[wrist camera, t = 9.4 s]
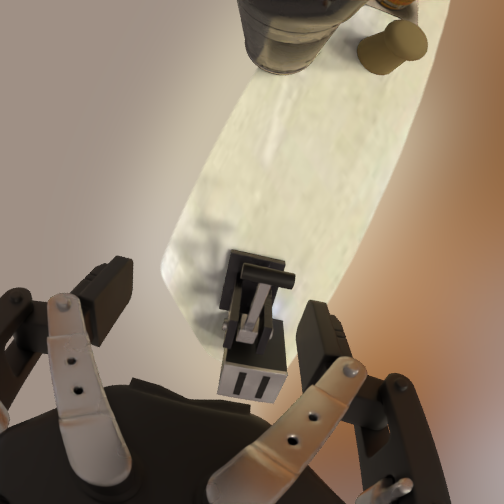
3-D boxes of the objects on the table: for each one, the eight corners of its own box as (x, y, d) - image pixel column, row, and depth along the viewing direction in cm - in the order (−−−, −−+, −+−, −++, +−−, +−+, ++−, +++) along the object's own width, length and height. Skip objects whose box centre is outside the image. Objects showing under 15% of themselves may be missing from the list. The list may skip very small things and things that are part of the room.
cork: (348, 53, 30) (377, 30, 20) (372, 29, 28) (405, 4, 18) (380, 83, 32) (419, 71, 22) (403, 59, 30) (443, 44, 20)
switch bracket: (231, 249, 42) (220, 296, 31) (285, 261, 43) (292, 311, 31) (219, 304, 46) (207, 360, 35) (267, 314, 47) (269, 372, 35)
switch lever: (245, 256, 28) (241, 274, 26) (295, 267, 28) (295, 286, 26) (227, 322, 36) (224, 338, 34) (265, 330, 36) (264, 346, 35)
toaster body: (232, 310, 47) (224, 364, 35) (283, 320, 47) (288, 375, 36) (225, 340, 49) (216, 395, 38) (272, 349, 50) (273, 404, 39)
